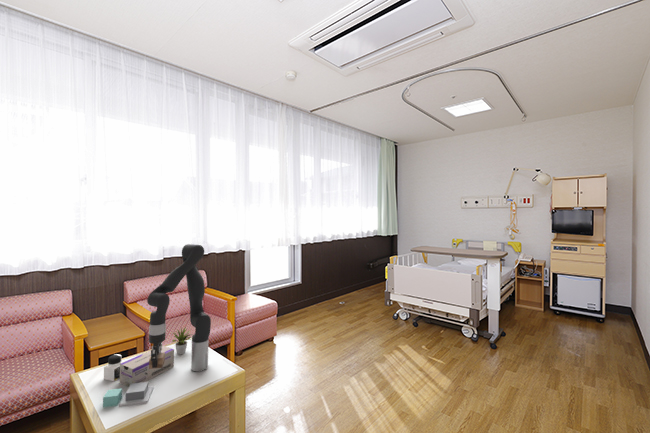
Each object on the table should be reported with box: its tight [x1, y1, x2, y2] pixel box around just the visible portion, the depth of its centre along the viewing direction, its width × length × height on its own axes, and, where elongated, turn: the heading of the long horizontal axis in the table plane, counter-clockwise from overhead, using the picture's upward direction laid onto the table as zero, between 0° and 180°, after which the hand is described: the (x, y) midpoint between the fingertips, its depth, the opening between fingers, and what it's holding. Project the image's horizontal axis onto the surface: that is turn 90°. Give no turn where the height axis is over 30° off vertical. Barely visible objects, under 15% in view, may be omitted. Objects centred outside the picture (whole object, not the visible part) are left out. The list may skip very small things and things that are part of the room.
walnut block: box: [149, 352, 165, 369], centre depth 154 cm, size 6×6×5 cm
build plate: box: [118, 381, 155, 407], centre depth 152 cm, size 12×12×5 cm
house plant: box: [172, 326, 193, 355], centre depth 196 cm, size 14×14×16 cm
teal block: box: [102, 387, 123, 408], centre depth 147 cm, size 6×6×5 cm
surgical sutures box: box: [119, 344, 175, 388], centre depth 172 cm, size 25×11×11 cm, turn 155°
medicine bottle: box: [103, 353, 124, 382], centre depth 168 cm, size 7×7×12 cm
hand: (156, 363), depth 154 cm, fingers closed on walnut block, 6 cm apart
